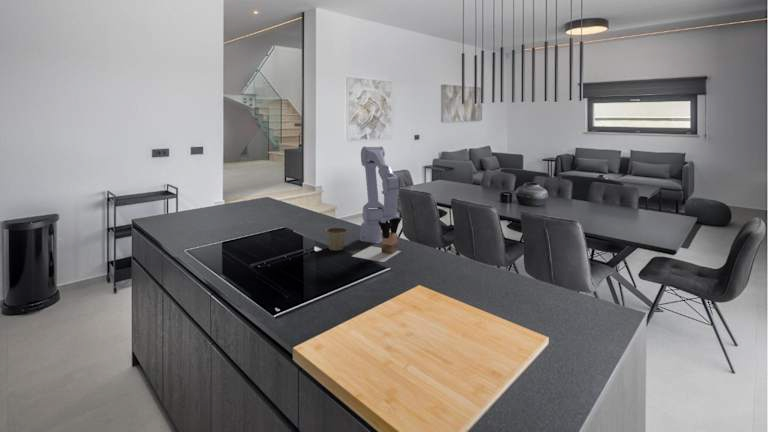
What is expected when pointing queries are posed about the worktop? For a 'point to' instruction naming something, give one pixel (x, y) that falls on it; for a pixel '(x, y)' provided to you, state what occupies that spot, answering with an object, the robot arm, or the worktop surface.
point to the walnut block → (389, 248)
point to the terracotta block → (390, 239)
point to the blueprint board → (374, 254)
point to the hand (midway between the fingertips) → (389, 236)
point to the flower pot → (336, 238)
